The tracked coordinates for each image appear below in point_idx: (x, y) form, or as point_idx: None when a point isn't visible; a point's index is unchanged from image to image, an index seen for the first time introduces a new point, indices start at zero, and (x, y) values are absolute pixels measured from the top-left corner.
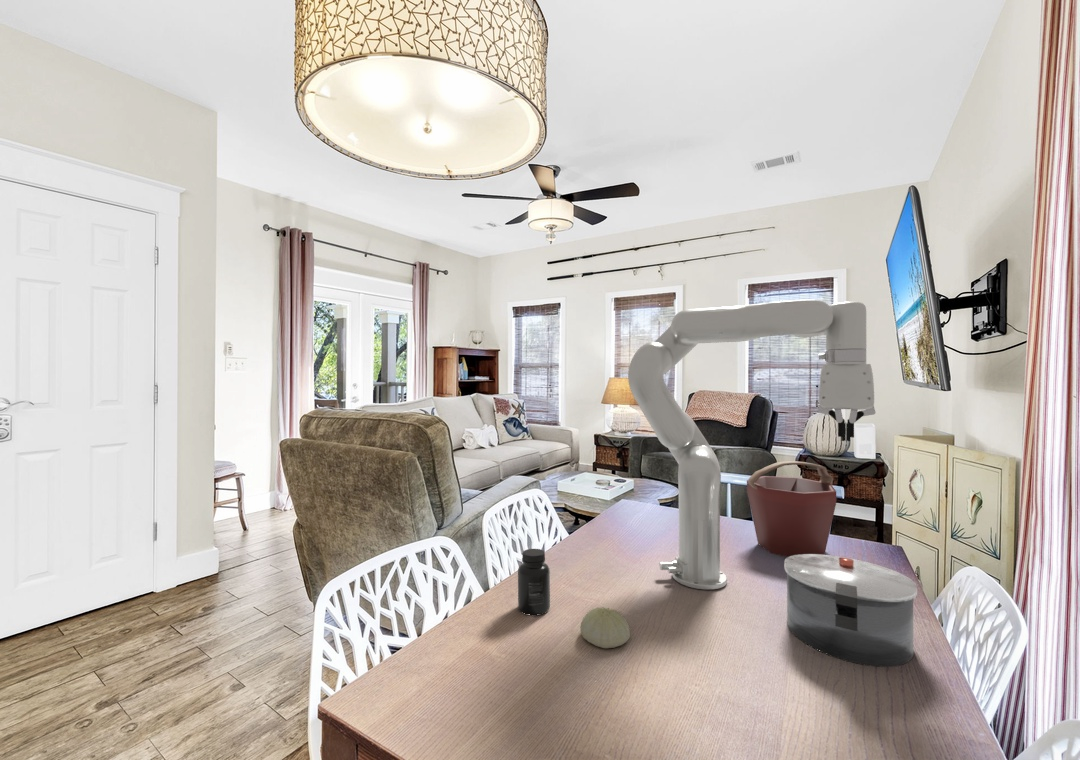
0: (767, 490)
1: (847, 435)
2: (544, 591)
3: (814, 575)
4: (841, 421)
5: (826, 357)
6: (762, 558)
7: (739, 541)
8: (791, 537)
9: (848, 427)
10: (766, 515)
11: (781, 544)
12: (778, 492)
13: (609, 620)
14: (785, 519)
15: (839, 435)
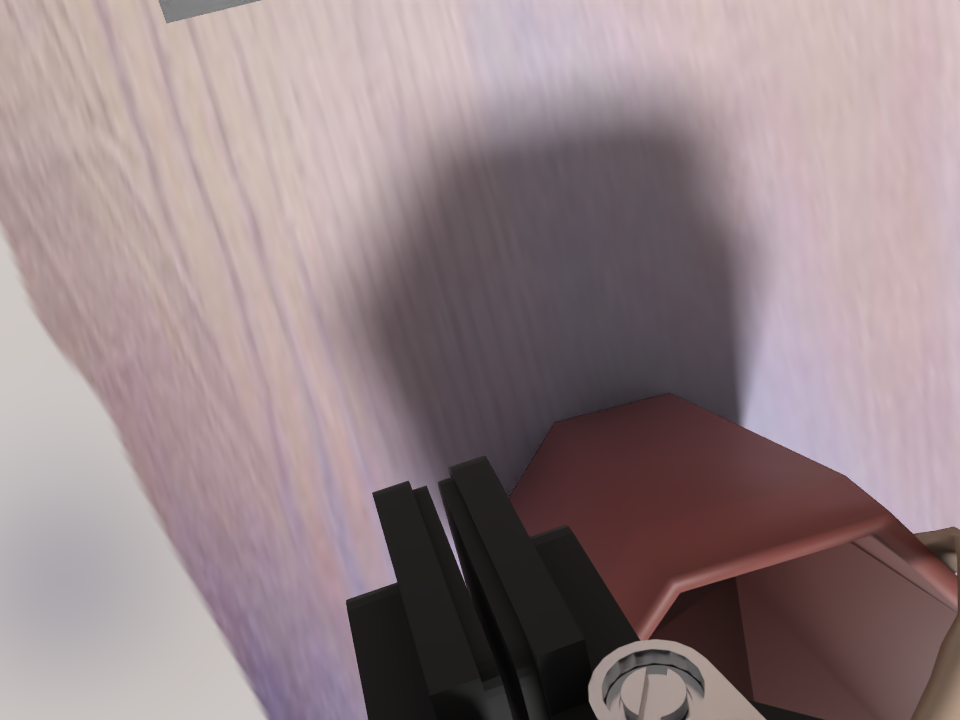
0: (861, 510)
1: (426, 529)
2: None
3: None
4: (608, 693)
5: None
6: (681, 305)
7: (808, 421)
8: (625, 444)
9: (440, 620)
10: (778, 445)
11: (649, 419)
12: (801, 526)
13: None
14: (688, 468)
15: (547, 534)
